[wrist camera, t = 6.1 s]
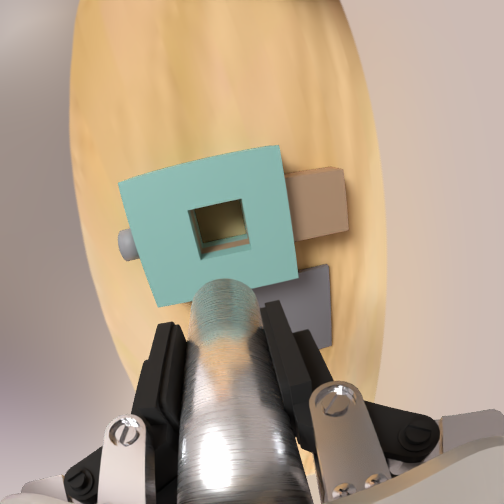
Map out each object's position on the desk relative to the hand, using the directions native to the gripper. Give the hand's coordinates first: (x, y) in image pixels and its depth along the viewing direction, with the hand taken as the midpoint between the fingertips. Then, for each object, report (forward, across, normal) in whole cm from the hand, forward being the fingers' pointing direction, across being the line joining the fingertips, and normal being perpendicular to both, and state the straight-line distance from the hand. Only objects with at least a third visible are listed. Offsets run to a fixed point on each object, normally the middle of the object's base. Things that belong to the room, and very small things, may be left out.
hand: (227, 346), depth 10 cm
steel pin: (+3, 0, 0) cm, 3 cm away
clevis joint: (+19, -1, 0) cm, 19 cm away
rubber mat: (+19, -4, +14) cm, 24 cm away
